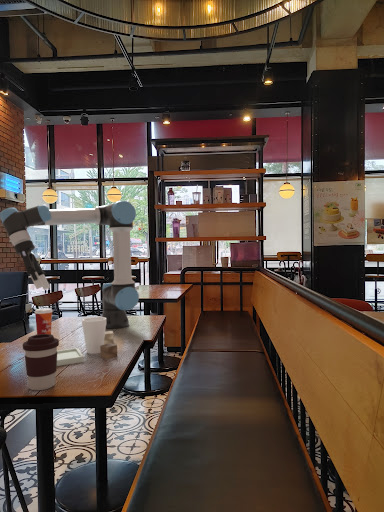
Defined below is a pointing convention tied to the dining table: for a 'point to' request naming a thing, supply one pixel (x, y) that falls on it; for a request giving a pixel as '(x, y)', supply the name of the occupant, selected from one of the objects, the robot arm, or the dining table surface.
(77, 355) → the tray
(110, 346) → the walnut block
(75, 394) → the dining table surface
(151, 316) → the dining table surface
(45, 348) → the coffee cup
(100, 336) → the foam cup
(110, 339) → the beech block
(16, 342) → the dining table surface
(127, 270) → the robot arm
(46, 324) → the paper cup
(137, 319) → the dining table surface
